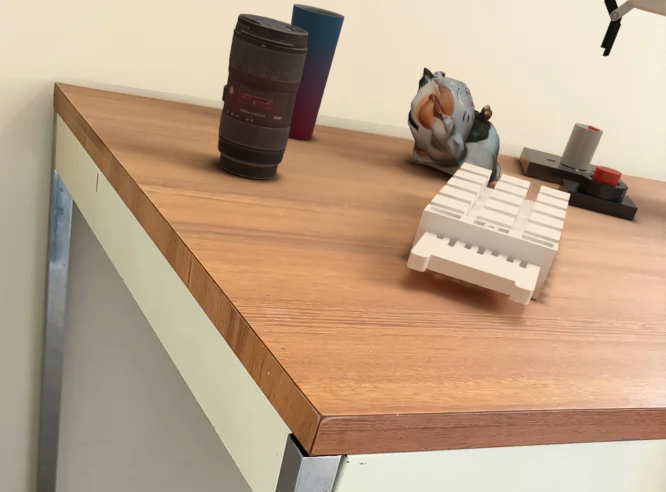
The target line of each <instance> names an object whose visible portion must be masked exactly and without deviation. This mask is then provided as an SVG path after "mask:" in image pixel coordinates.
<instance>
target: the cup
mask: <svg viewBox="0 0 666 492" xmlns="http://www.w3.org/2000/svg"><path fill="white" fill-rule="evenodd" d="M290 20H291V21H290V24H291V25H293V26H296V27H299V28H301V29H303V30H305V31H306V32H308V40H307V48H308V49H307V54H306V58H305V63H304V68H303V73H302V78H301V81H300V85H299V87H298V90H297V93H296V98H295V103H294V109H293V114H292V119H291V124H290V132H289V137H288V138H291V139H296V140H300V141H301V140H302V141H309V140H311V139H312V137H313V133H314V129H315V127H316V123H317V119H318V116H319V113H320V112H319V111H320V108H321V104H322V100H323V97H324V94H325V89H326V86H327V83H328V79H329V75H330V72H331V68H332V65H333V61H334V57H335V54H336V50H337V47H338V43H339V39H340V35H341V32H342V28H343V24H344V20H345V15H343V14H341V13H338V12H335V11H332V10H328V9H325V8H321V7H316V6H312V5H308V4H300V3H293V6H292V13H291V19H290Z"/></svg>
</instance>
